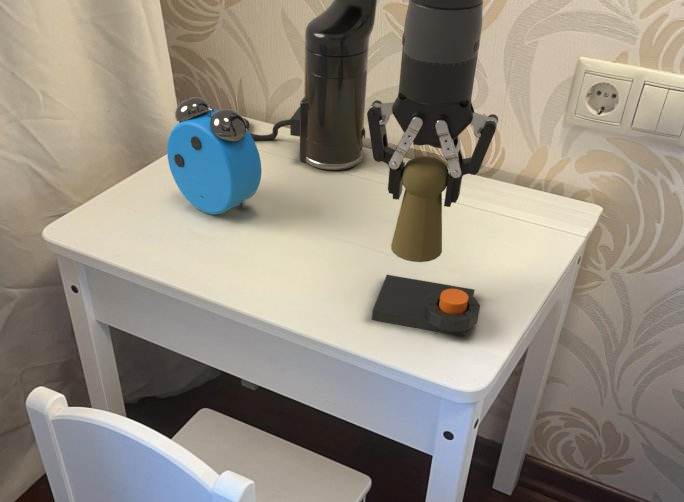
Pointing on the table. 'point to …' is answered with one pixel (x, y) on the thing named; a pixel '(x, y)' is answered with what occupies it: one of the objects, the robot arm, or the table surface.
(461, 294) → the tare button
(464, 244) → the table surface
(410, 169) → the olive brown pawn
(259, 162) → the alarm clock
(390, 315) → the scale
